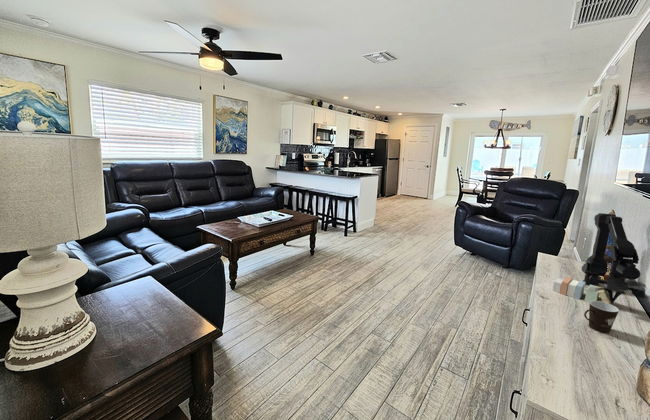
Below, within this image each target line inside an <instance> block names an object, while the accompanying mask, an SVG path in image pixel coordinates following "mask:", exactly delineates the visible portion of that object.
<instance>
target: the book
mask: <svg viewBox="0 0 650 420" xmlns="http://www.w3.org/2000/svg"><path fill="white" fill-rule="evenodd" d="M600 287H601V286H594V285H588V287H587V289H586V292H585V296H584V302H586V303H589V304H590V301H597V299H598V297H600V295H599V292H598V291H599V289H600Z"/></svg>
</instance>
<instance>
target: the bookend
mask: <svg viewBox="0 0 650 420" xmlns="http://www.w3.org/2000/svg"><path fill="white" fill-rule="evenodd" d="M599 287H600V289H599V291H598V292H599V297H598V299H597V301H601V302H605V303H608V304H611V301H610V297H609V293H608V291H607V290H606V289H604V286H599Z"/></svg>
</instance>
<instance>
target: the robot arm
mask: <svg viewBox="0 0 650 420" xmlns="http://www.w3.org/2000/svg"><path fill="white" fill-rule="evenodd" d="M593 219H594V225H595V227H596V228H597V230H596V236H595V239H594V245H593V249H592V255H590V256H589V257H588V258H587V259H586V261H585V263H583V265H581V272H582V273H584V278H583V280H582V281H584V282H586V283H585V286H589V285H594V286H598V287H600V286H599V285H604V286H603V287H604V289H606V290H607V291H608V293H609V297H610V304H613V303H614V302H615V301H616V300H617V299H618V297H620V295H625V294H626V293H627V292H631V294H632V295H633V296H635V297H640V298H644V297H645V295H646V294H645V293H646V288H645V287H641V286H638V285H633V286H630V282H627V280H630V281H634V280H637V279H639V278H641V277H640V276H641V271H640V270H639V269H638V268H637V265H638V264H639V261H640V259H639V254H638V250H637V249H636V247H635V245H634V244H633V242H631V241H630V240H629V239H628V238H627V234H626V231H625V228H624V226H623V217H621V216H617V215H616V214H614V213H605V212H604V213H603V212H599V213H597V214H596V215H595V216H594V218H593ZM610 236H611V239H612V245H611V251H610V254H612V259H613V260H612V263H611V266H610V267H611V269H610V273H609V278H608V279H607V281H604V280H601V277H599V276H605V274H606V272H607V269H608V268H607V267H608V263H607V262H606V261H605V259H604V256H605V251H606V252H607V250H606V246H607V245H608V242H609V237H610ZM614 292H615V293H614Z"/></svg>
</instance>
